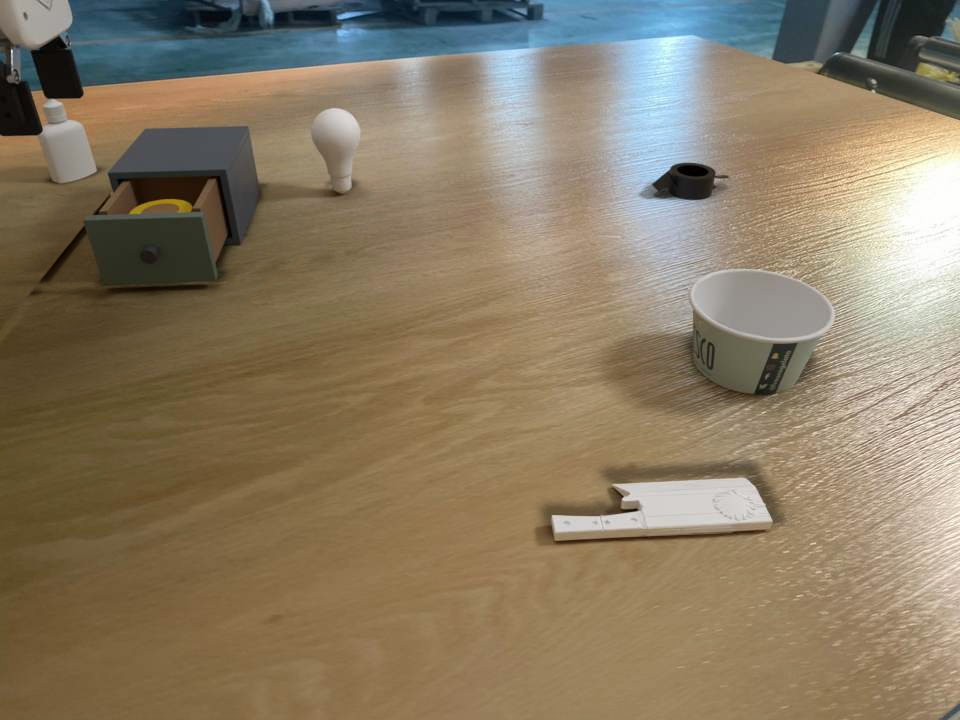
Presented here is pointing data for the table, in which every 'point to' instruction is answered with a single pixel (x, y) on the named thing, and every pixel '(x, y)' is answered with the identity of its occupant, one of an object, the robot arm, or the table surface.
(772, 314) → the food container
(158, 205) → the tape roll
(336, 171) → the lightbulb
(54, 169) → the eye dropper bottle
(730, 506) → the butcher knife
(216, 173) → the cabinet
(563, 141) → the table surface
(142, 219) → the drawer
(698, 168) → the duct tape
